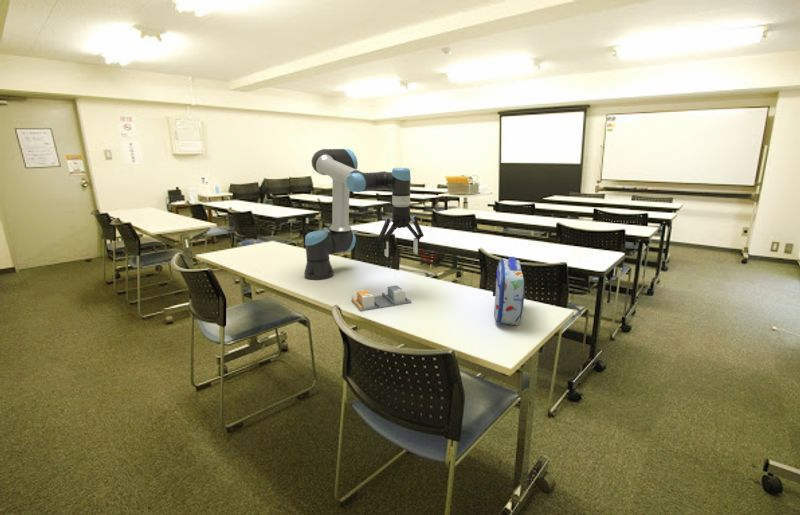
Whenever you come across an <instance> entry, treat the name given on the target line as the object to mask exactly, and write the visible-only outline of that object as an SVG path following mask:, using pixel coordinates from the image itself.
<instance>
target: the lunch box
mask: <svg viewBox="0 0 800 515" xmlns="http://www.w3.org/2000/svg"><path fill="white" fill-rule="evenodd" d="M496 268H497V269H496V279H495V286H493V290H492V297H495V298H494V314H493V317H494V321H495V323H497V324H504V325H513V326H519V324H521V320H522V315H523V311H524V302H525V279H524V275H523V271H522V267H521V263H520V260H519V259H516V257H515V256H511V257H509V256H508V259H507V258H500V259H499V261H498V265H496Z"/></svg>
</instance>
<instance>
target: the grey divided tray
mask: <svg viewBox="0 0 800 515" xmlns="http://www.w3.org/2000/svg"><path fill="white" fill-rule="evenodd" d="M350 299H351V300H350V301H351V303H352V304H353V305H354V306H355V307H356V308H357V309H358V310H359V311H360V312H365V311H371V310H377V309H378V310H379V309H383V308H389V307H395V306H402V305H406V304H407V305H408V304H412V300H411V298H410V297H408V296H407V295H406V294H405V302H399V303H395V302H394V301H393V300H392V299H390V298H389V297H388V294H386V293H385V292H381V295H376V296H375V295H374V306H375V307H370V308H363V307H362V306H361V305H360V304H359V303H358V302H357V298H355V297H351V298H350Z"/></svg>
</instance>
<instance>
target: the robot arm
mask: <svg viewBox="0 0 800 515" xmlns="http://www.w3.org/2000/svg"><path fill="white" fill-rule="evenodd" d="M311 167H312V169H313V170H314V171H315V173H318V174H320V175H322V176H329V177H330V178H331V181H332V191H331V192H332V193H331V194H332V200H331V201H332V203H331V204H332V210H331V212H332V213H331V216H332V217H331V218H332V221H331V222H332V223H331V225H330V227H329V231H328V230H324V229H323V230H322V229H321V230H314V231H310V232H308V233H307V234H306V235H305V237H304V239H305V240H304V245H305V254H306V256H305V257H306V264H305V268H304V274H303V275H304V279H307V280H315V281H317V280H318V281H320V280H327V279H330V278H331V277H333V276H335V275H334V274H335V273H334V269H333V266H332V263H331V261H330V255H334V254H340V253H346V252H350V251H351V250H353V249H354V248H355V244H356V241H357V238H356V235H355V232H354V231H353V229H352V227H351V226H350V224H349V223H350V222H349V221H350V220H349V218H350V216H349V215H350V214H349V213H350V192H352V193H353V192H354V193H362V192H373V191H385V190H386V191H392V192H391V198H392V200H391V204H392V209H391V210H392V211H391V212H392V214H391V215H392V216H391V218H389V217H385V218H384V224H383V227H382V228H381V231H380V232H379V235H378V237H377V239H378V240H379V241H380V242H381V241H382V249H383V250H384V256H385V257H386V258H388V257H389V241H388V240H389V239H390V237H391V236H392V234H394V232H395V230H397V229H401V228H403V229H405V228H407V229H408V230H409V232H410V233H411V234H412V235H413V236H414V237H413V241H412V242H413V249H412V250H413V251H412V252H413V254H416V255H418V250H419V249H418V247H419V246H420V240H421V238H423V237H424V236H425V235H424V233H423V230H422V228H421V227H420V224H419V222H418V217H417V216H415V215H412V216H411V206H410V205H411V179H412V178H411V170H410V168H408V167H393V168H392V169H391V171H384V170H383V171H378V172H377V171H376V172H362V171H360V170H358V168H359V167H358V158H357V156H356V154H355V152H354V151H353V150H351V149H349V148H348V149H346V148H323V149H319V150H317V151H316V152H315V153H314V154H313V156H312V158H311ZM391 222H392V224H391ZM411 222H412V224H413V226H414V228H415V229H414V228H413V227H412V225H411V224H410V223H411ZM390 224H391V226H390ZM389 226H390V227H389ZM388 228H389V229H388Z"/></svg>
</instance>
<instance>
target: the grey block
mask: <svg viewBox="0 0 800 515" xmlns="http://www.w3.org/2000/svg"><path fill="white" fill-rule="evenodd" d="M386 289H387V295H388V297H389V298H390V299H392V300H393V301H394V302H395V303H399V302H405V295H406V290H405V289H403V288H402V287H400V286H399V285H391V286H387V288H386Z"/></svg>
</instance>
